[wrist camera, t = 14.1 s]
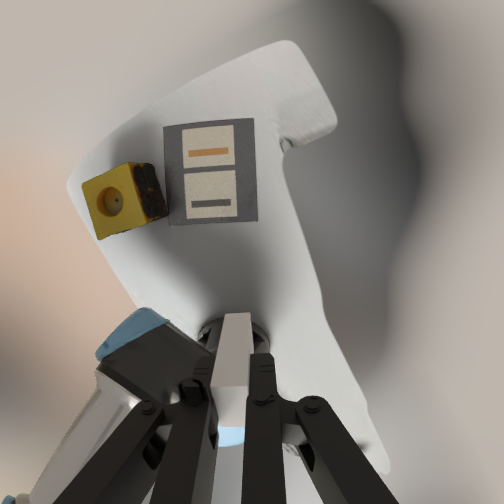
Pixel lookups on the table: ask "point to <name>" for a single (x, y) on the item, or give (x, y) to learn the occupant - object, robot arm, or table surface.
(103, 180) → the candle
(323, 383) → the table surface
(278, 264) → the table surface
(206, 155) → the label plate
